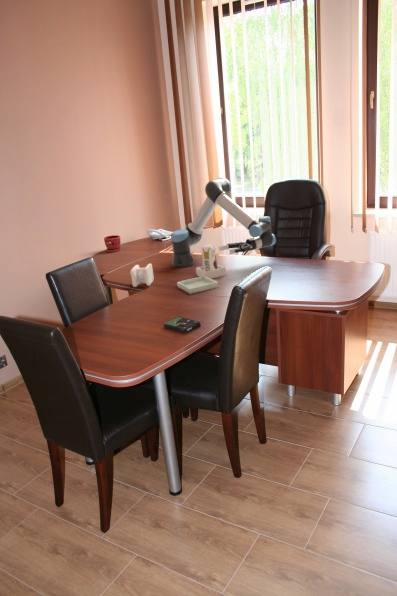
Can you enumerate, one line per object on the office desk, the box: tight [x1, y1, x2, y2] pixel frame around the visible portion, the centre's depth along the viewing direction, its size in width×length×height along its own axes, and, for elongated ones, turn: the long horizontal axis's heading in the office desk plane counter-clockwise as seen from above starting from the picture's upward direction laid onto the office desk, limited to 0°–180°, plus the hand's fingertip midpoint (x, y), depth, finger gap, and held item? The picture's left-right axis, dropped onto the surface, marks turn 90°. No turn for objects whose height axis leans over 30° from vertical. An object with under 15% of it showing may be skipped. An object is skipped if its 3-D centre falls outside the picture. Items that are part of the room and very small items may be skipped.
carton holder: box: [195, 263, 226, 280], centre depth 305 cm, size 13×13×5 cm
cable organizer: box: [129, 263, 155, 288], centre depth 301 cm, size 15×11×12 cm
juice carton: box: [200, 243, 218, 271], centre depth 303 cm, size 8×9×19 cm
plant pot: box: [103, 234, 122, 253], centre depth 404 cm, size 13×13×12 cm
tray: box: [176, 276, 219, 295], centre depth 285 cm, size 18×18×3 cm
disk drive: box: [163, 316, 201, 334], centre depth 229 cm, size 10×3×15 cm
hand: (224, 250), depth 306 cm, fingers open, 13 cm apart
